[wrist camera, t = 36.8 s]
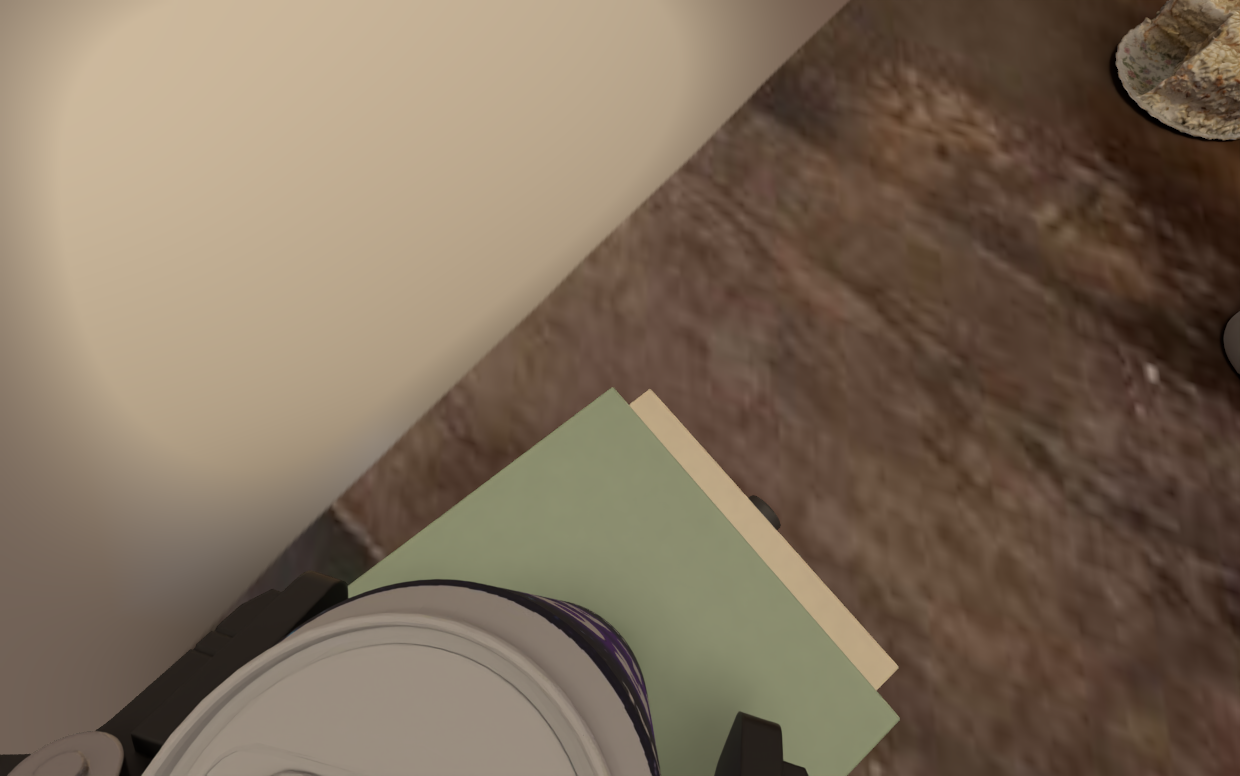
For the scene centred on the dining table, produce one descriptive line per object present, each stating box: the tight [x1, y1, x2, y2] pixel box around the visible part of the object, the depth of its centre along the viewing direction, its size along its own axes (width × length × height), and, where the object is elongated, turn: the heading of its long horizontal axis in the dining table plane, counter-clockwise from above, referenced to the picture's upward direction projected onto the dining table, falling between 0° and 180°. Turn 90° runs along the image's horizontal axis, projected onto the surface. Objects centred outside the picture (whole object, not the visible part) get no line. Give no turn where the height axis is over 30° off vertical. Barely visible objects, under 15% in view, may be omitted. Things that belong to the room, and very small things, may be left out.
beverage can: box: [141, 579, 661, 776], centre depth 11 cm, size 6×6×12 cm
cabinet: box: [348, 387, 900, 776], centre depth 21 cm, size 15×13×9 cm
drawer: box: [629, 389, 898, 690], centre depth 21 cm, size 15×12×7 cm
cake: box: [1115, 0, 1240, 140], centre depth 34 cm, size 10×10×5 cm
